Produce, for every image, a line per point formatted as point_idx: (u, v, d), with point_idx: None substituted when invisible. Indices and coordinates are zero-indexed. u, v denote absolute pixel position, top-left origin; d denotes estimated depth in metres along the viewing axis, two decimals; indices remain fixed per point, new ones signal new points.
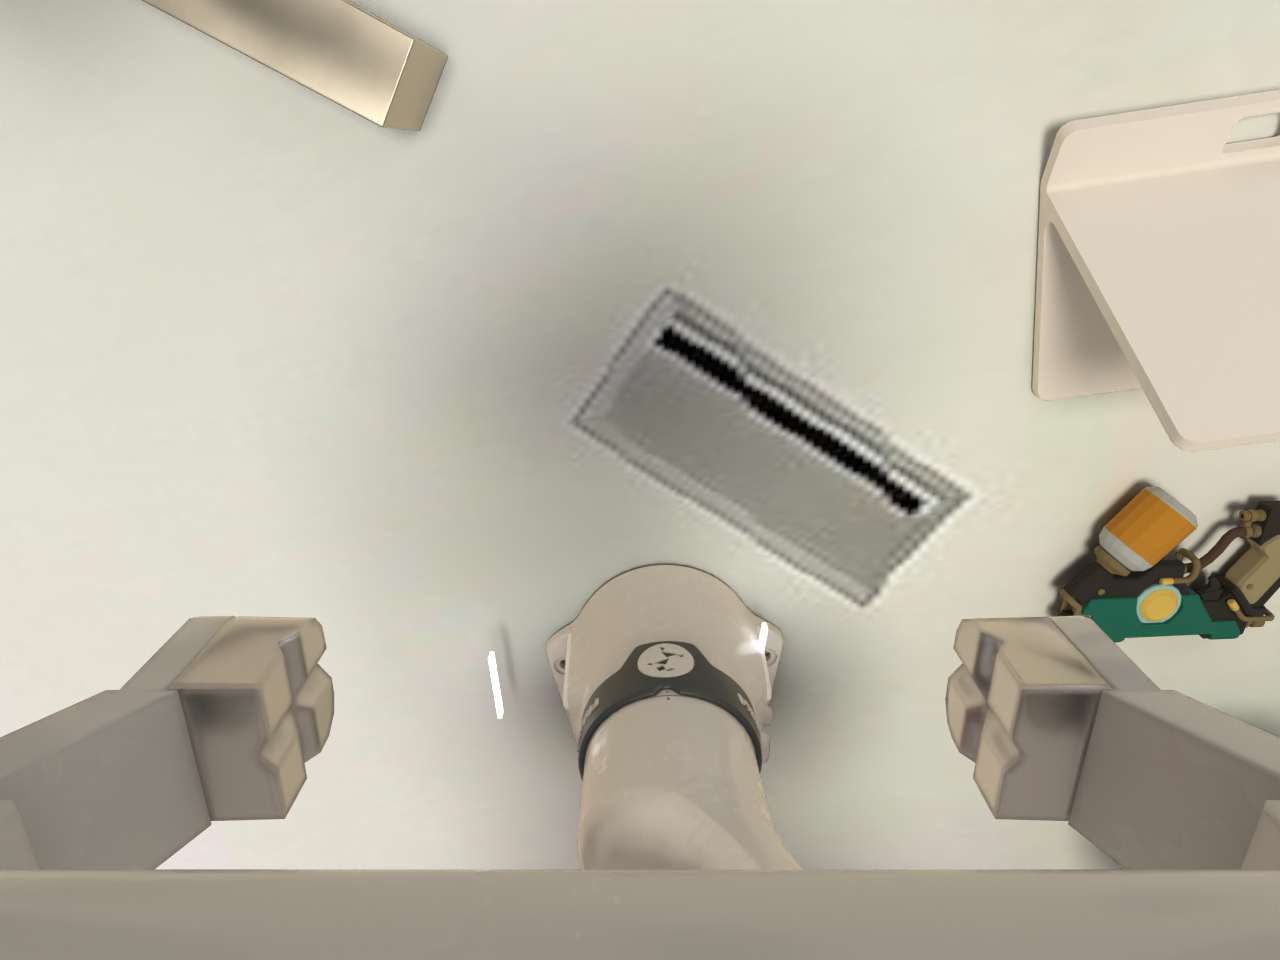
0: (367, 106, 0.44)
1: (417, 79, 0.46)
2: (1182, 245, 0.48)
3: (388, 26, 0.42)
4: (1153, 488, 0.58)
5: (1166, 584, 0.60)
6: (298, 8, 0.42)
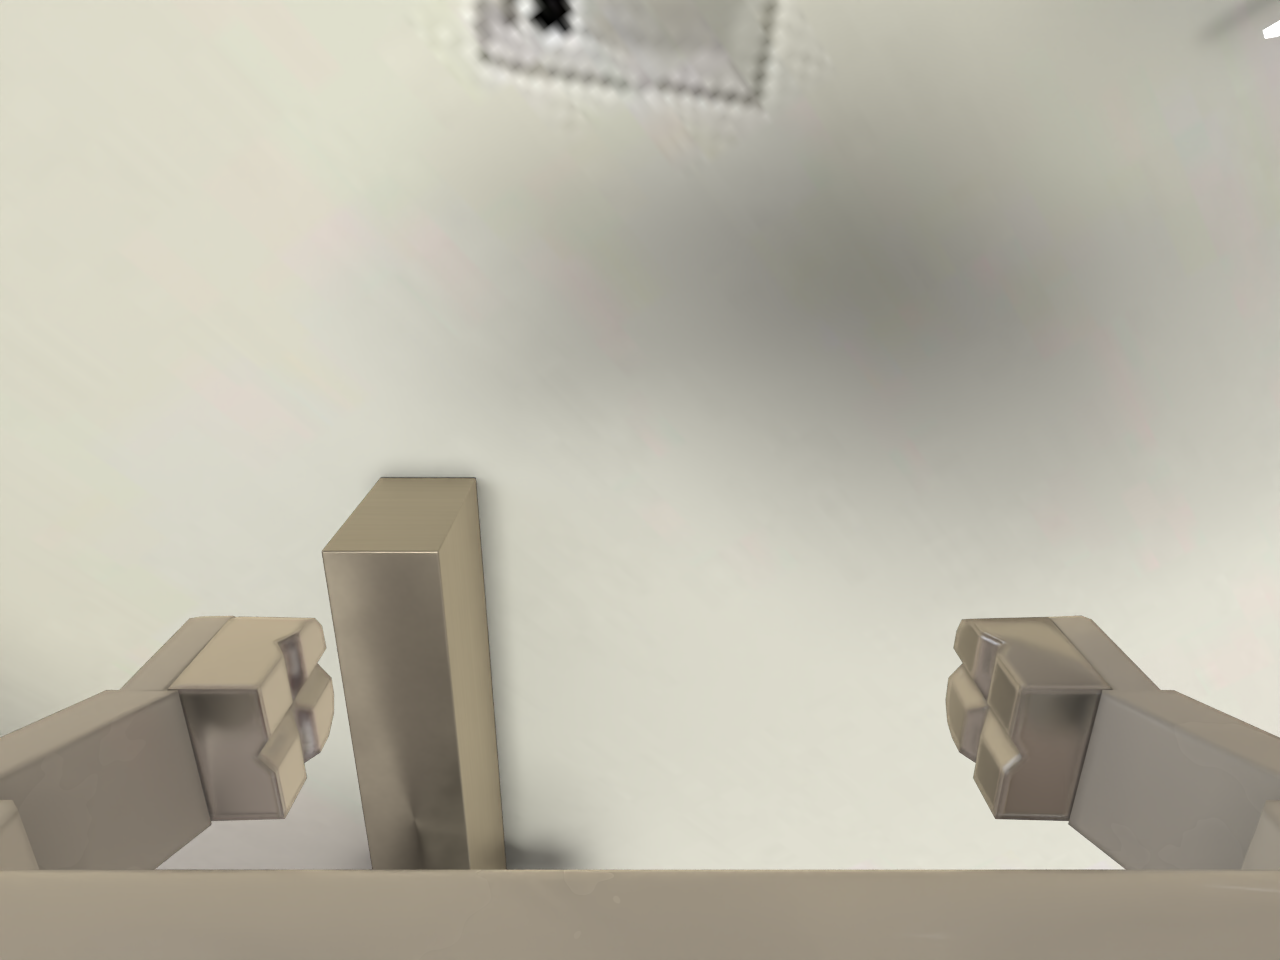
0: (426, 575, 0.33)
1: (389, 517, 0.36)
2: None
3: (327, 582, 0.33)
4: None
5: None
6: (373, 672, 0.35)
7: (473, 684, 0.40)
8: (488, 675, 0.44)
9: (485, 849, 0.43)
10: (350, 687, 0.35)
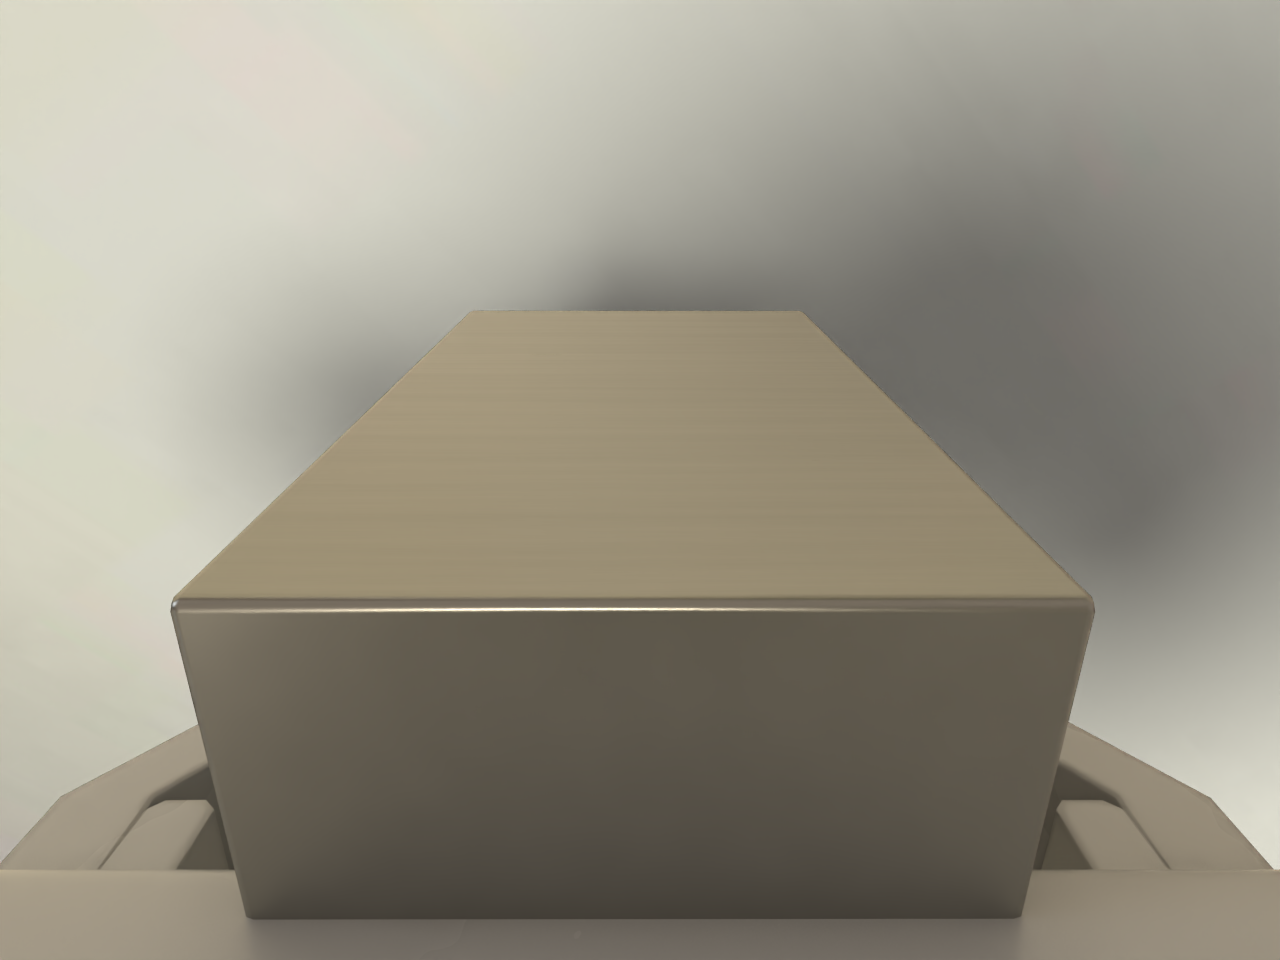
0: (951, 774, 0.05)
1: (575, 409, 0.07)
2: None
3: (227, 819, 0.05)
4: None
5: None
6: None
7: None
8: None
9: None
10: None
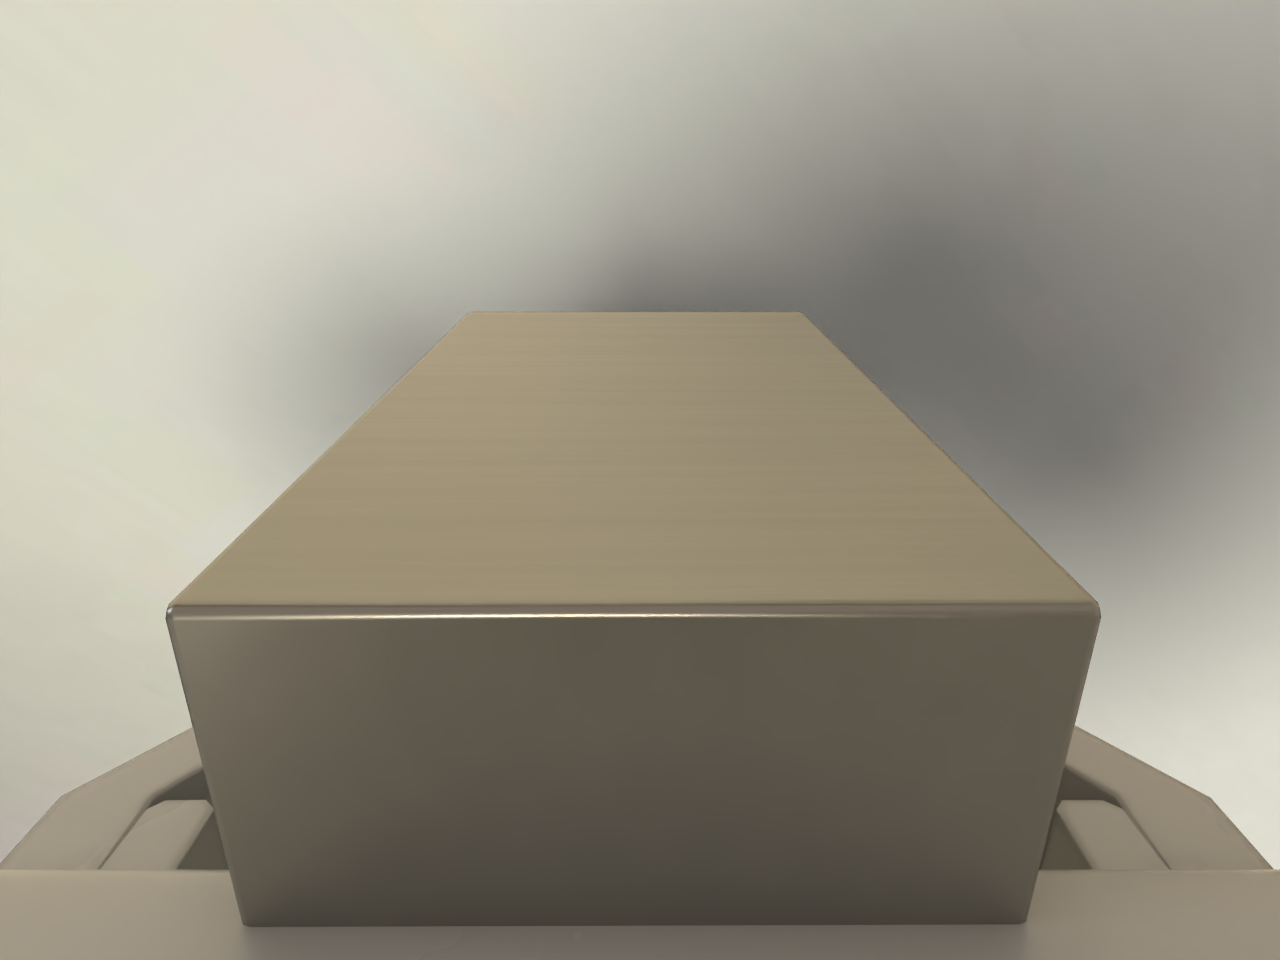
0: (957, 781, 0.04)
1: (574, 411, 0.07)
2: None
3: (223, 828, 0.05)
4: None
5: None
6: None
7: None
8: None
9: None
10: None
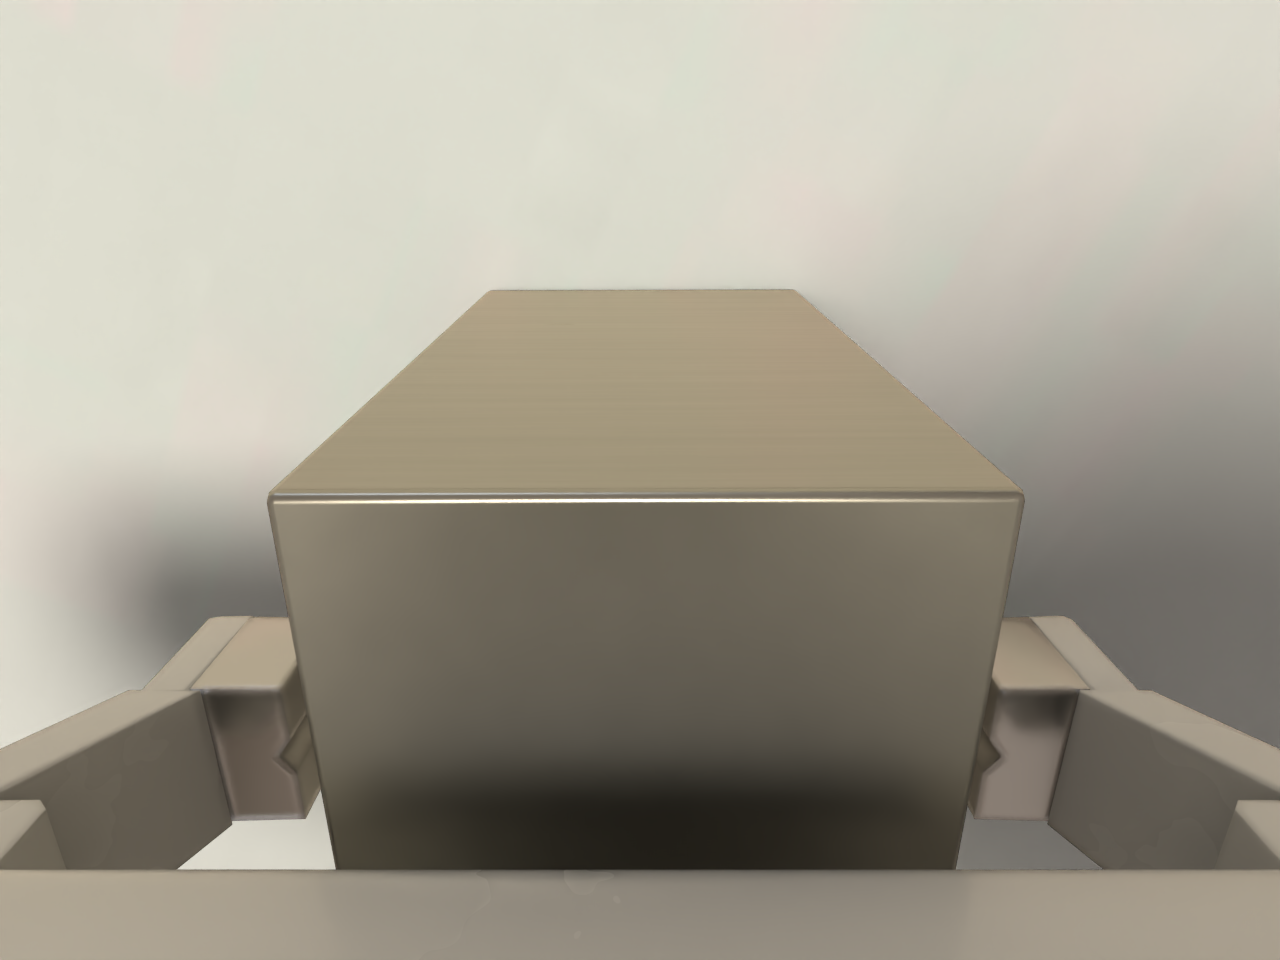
0: (910, 644, 0.05)
1: (590, 365, 0.08)
2: None
3: (306, 686, 0.06)
4: None
5: None
6: None
7: None
8: None
9: None
10: None
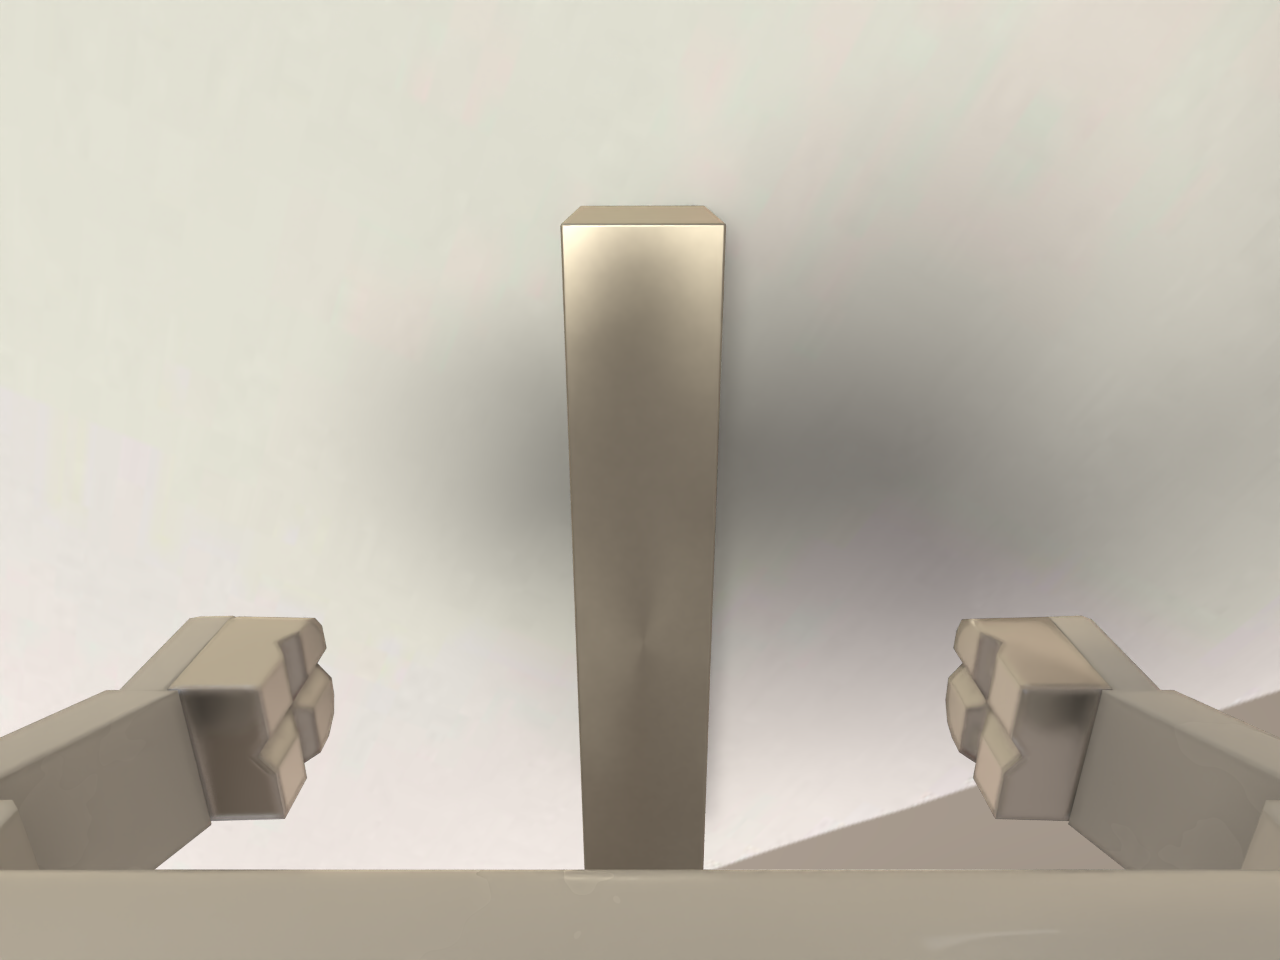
0: (704, 263, 0.24)
1: (626, 215, 0.26)
2: None
3: (564, 274, 0.24)
4: None
5: None
6: (612, 417, 0.25)
7: None
8: None
9: None
10: (578, 441, 0.26)
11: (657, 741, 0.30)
